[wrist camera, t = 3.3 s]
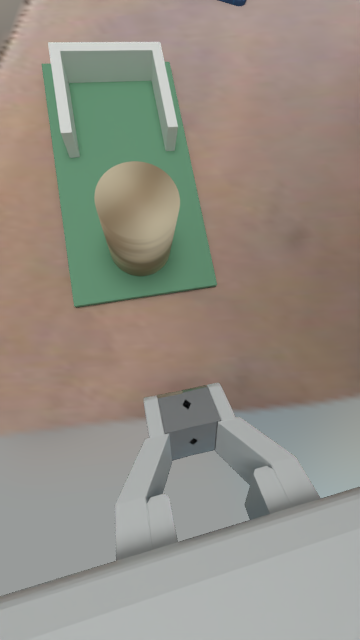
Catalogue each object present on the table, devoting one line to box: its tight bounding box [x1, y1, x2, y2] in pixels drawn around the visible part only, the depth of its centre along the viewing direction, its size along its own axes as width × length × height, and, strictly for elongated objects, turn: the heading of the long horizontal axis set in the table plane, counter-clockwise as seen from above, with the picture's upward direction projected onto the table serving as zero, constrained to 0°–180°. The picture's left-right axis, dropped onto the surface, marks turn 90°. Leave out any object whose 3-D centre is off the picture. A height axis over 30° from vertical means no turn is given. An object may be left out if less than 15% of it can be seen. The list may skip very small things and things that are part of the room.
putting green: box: [42, 42, 217, 307], centre depth 27 cm, size 27×14×4 cm, turn 11°
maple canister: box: [94, 161, 180, 276], centre depth 23 cm, size 6×6×8 cm
